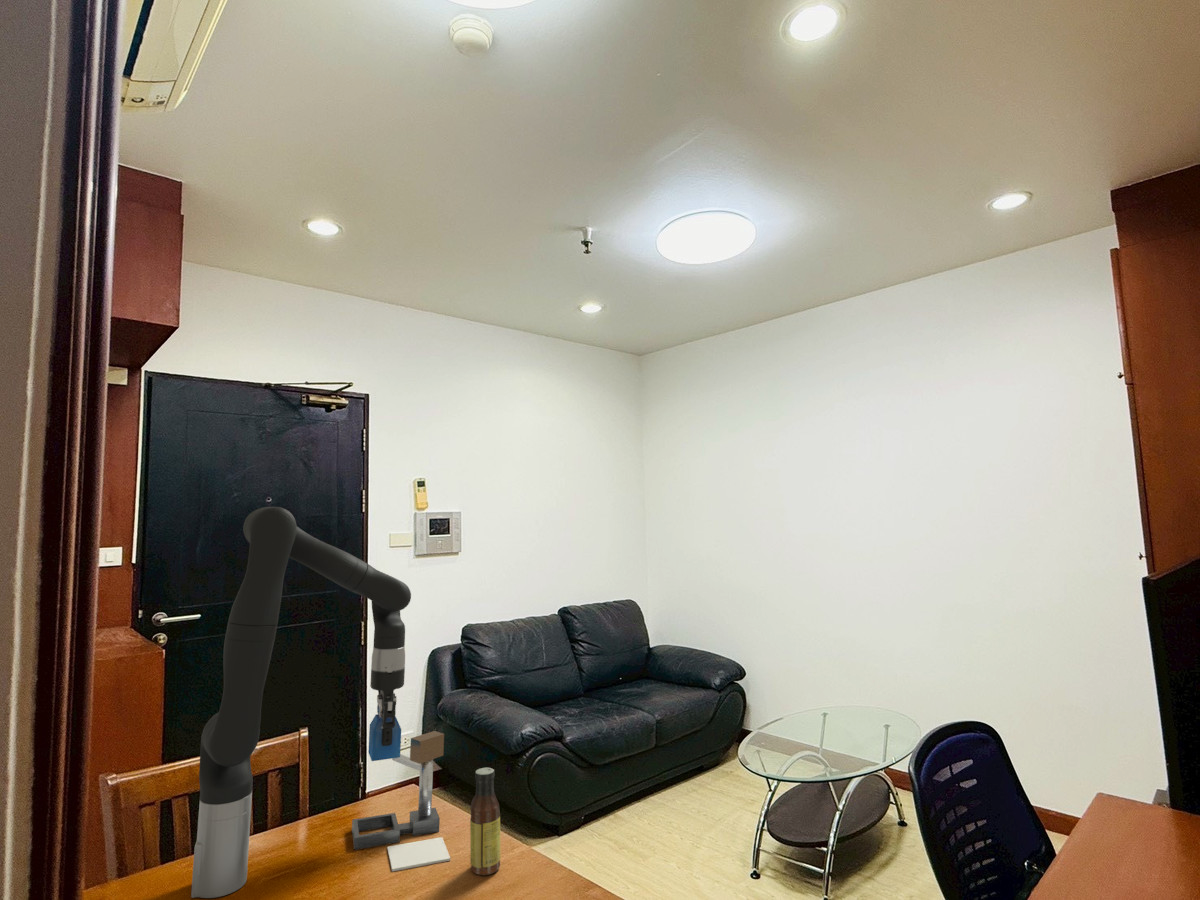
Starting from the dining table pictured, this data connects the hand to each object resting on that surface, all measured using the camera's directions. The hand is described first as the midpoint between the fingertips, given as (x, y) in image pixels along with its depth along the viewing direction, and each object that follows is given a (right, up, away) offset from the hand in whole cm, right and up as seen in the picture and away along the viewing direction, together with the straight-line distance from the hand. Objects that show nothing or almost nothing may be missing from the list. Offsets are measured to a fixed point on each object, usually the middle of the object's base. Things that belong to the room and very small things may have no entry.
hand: (384, 740), depth 153 cm
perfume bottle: (0, -3, 0) cm, 3 cm away
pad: (+10, -21, -9) cm, 25 cm away
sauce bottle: (+26, -21, -14) cm, 36 cm away
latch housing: (+2, -22, +1) cm, 22 cm away
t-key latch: (+4, -19, +7) cm, 21 cm away
